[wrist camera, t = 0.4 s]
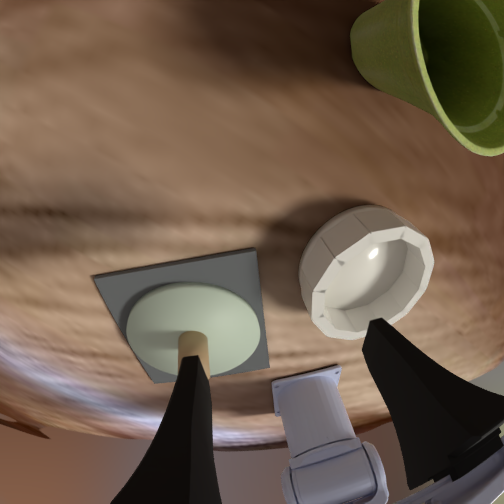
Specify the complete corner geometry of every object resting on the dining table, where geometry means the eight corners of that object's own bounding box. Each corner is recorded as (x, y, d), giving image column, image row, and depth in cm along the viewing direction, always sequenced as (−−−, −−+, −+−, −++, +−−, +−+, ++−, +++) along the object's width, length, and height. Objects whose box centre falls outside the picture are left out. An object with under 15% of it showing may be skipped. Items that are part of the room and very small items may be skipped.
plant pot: (393, 144, 17) (485, 195, 10) (290, 49, 13) (367, 29, 6) (455, 62, 14) (547, 81, 7) (371, -34, 10) (462, -67, 3)
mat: (268, 364, 28) (269, 367, 28) (154, 380, 27) (154, 383, 27) (255, 247, 20) (256, 250, 20) (95, 275, 19) (93, 279, 19)
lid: (263, 359, 27) (272, 397, 23) (153, 375, 26) (151, 412, 23) (251, 269, 21) (261, 312, 17) (107, 293, 20) (93, 336, 16)
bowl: (397, 294, 26) (415, 320, 23) (298, 319, 25) (309, 351, 22) (417, 197, 20) (445, 219, 17) (295, 214, 19) (313, 242, 16)
